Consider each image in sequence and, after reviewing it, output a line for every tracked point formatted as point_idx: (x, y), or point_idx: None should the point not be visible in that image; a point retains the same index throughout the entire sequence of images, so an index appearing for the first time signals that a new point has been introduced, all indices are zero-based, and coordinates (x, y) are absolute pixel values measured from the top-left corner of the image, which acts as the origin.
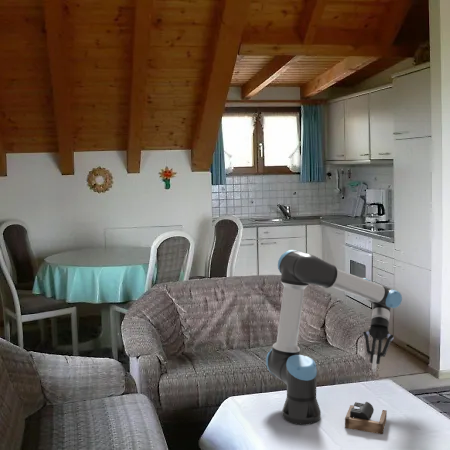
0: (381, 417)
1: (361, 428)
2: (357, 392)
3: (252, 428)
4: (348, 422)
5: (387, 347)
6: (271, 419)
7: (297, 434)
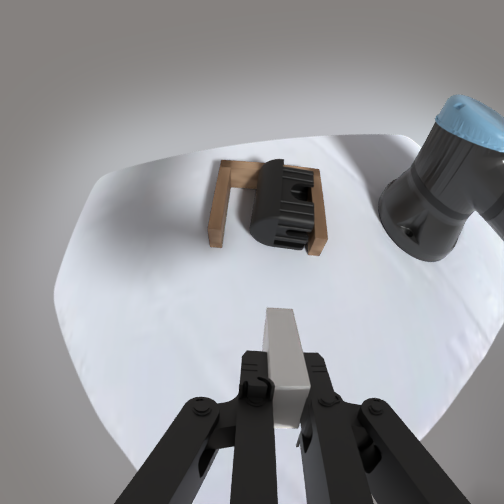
0: (224, 187)
1: None
2: None
3: None
4: None
5: (142, 477)
6: None
7: (385, 159)
